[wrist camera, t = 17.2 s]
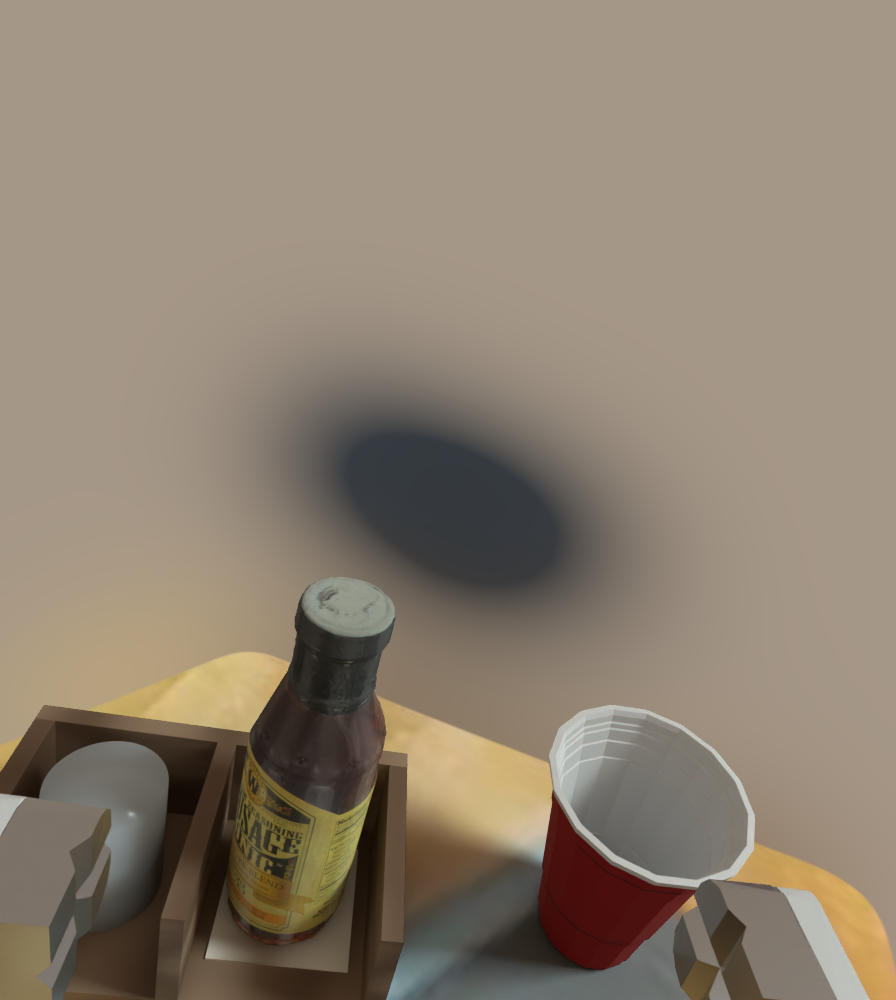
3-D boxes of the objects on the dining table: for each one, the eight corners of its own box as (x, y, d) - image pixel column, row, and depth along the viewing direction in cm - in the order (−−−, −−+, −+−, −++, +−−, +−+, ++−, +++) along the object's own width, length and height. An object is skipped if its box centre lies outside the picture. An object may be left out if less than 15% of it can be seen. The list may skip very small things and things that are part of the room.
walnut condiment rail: (-63, 993, 33) (-78, 893, 30) (46, 795, 43) (43, 704, 40) (376, 1030, 36) (403, 942, 33) (385, 835, 46) (407, 753, 43)
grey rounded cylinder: (22, 926, 36) (16, 828, 33) (71, 827, 41) (69, 734, 38) (142, 938, 36) (147, 843, 33) (175, 839, 41) (182, 749, 38)
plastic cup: (483, 988, 39) (546, 834, 34) (504, 823, 48) (555, 683, 43) (686, 1053, 38) (783, 906, 33) (666, 872, 48) (739, 736, 43)
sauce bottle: (204, 876, 40) (237, 567, 31) (308, 829, 44) (363, 543, 35) (257, 985, 36) (312, 664, 27) (366, 922, 39) (446, 624, 31)
